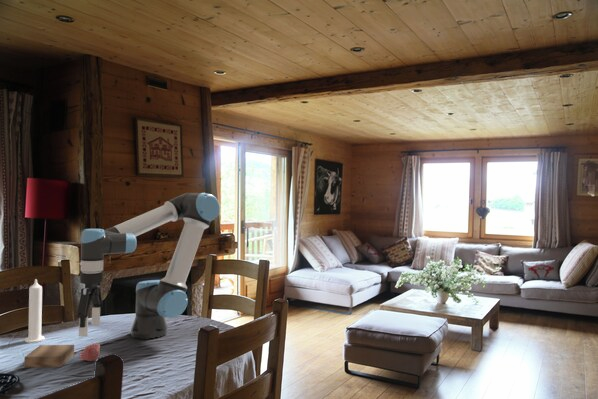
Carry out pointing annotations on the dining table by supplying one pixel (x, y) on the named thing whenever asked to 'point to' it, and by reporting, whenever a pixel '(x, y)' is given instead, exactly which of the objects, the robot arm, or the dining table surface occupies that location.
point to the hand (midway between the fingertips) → (89, 330)
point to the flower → (90, 352)
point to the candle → (35, 313)
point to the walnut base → (49, 356)
